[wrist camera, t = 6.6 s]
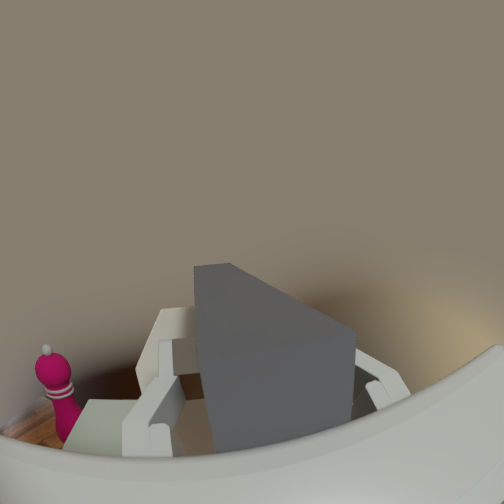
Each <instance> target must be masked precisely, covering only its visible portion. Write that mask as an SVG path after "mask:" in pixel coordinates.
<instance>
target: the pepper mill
mask: <svg viewBox="0 0 504 504" xmlns="http://www.w3.org/2000/svg"><path fill="white" fill-rule="evenodd" d="M42 352H43V354H44V355H42V356H40V357H39V358H38V360H37V362H36V365H35V371H36V375H37V377H38V379H39V381H40V382H41V383H43V384H44V389H45V391H46V394H47V396H48V397H50V398H51V400H52V402H53V405H54V409H55V414H56V431H57V434H58V436H59V438H60V440H61V441H62V442H63V443H64V444H65V442H66V440H67V438H68V436H69V434H70V432H71V431H72V429H73V427H74V425H75V423H76V422H77V420H78V418H79V416H80V414H81V413H82V411H83V410H81V408H80V407H79V406H78V404H77V403H76V401H75V398H74V396H73V392H74V387H73V386H72V382H71V380H69V379H70V376H71V368H70V365H69V363H68V361H67V360H66V359H65V358H64V357H63V356H62V355H60V354H57V353H52V348H51V346H50V345H48V344H46V345H43V347H42Z"/></svg>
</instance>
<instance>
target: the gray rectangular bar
mask: <svg viewBox="0 0 504 504" xmlns="http://www.w3.org/2000/svg"><path fill="white" fill-rule="evenodd" d="M194 295H195V320H196V338H197V354H198V364H199V370H200V375H201V381H202V387H203V392H204V398H205V403H206V408H207V413H208V418H209V423H210V428H211V432H212V437H213V442H214V446H215V450H216V453H222V452H230V451H236V450H243V449H248V448H254V447H259V446H264V445H269V444H274V443H278V442H283V441H287V440H291V439H295V438H299V437H302V436H306V435H309V434H313V433H316V432H320V431H323V430H326V429H329V428H332V427H335V426H338V425H341V424H344V423H347V422H350V419H351V410H352V400H353V389H354V375H355V357H356V331H354V330H353V329H351V328H349V327H347V326H345V325H343V324H341V323H339V322H337V321H335V320H334V319H332V318H330V317H328V316H326V315H324V314H322V313H320V312H318V311H317V310H315V309H313V308H311V307H309V306H307V305H305V304H304V303H301V302H300V301H298V300H296V299H294V298H292V297H291V296H289V295H287V294H285V293H283V292H281V291H279V290H277V289H276V288H274V287H272V286H270V285H268V284H267V283H265V282H263V281H261V280H259V279H258V278H256V277H254V276H252V275H250V274H248V273H247V272H245V271H243V270H241V269H239V268H238V267H236V266H234V265H232V264H230V263H224V264H214V265H204V266H194Z"/></svg>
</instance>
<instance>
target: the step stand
mask: <svg viewBox="0 0 504 504" xmlns="http://www.w3.org/2000/svg"><path fill="white" fill-rule="evenodd" d="M194 337H196V320H195V306H190V307H180V308H170V309H169V308H168V309H161V311H160V313H159V315H158V317H157V320H156V322H155V324H154V326H153V329H152V331H151V333H150V336H149V338H148V340H147V342H146V345H145V347H144V349H143V352H142V354H141V357H140V359H139V361H138V364H137V367H136V373H137V377H138V380H139V385H140V388H141V392H142V394H143V392H144V391H145V389H146V388H147V387H148V385H149V384H150V382H151V381H152V380H153V378H154V377H158V342H159V340H165V339H179V338H194ZM137 401H138V400H95V399H89V401H88V402H87V404H86V406H85V408H84V409H83V411H82V413H81V414H80V416H79V418H78V420H77V422H76V423H75V425H74V427H73V429H72V431H71V432H70V434H69V436H68V438H67V440H66V442H65V444H64V445H63V447H62V449H61V450H66V451H73V452H79V453H87V454H96V455H107V456H122V422H123V421H124V419H125V418H126V416H127V415H128V414H129V412H130V411H131V409H132V408H133V406H134V405H135V404H136V402H137ZM172 432H173V434H174V435H175V437H176V439H177V440H178V442H179V444H180V445H181V447H182V449H183V456H193V455H205V454H214V453H216V450H215V446H214V442H213V437H212V432H211V428H210V423H209V418H208V413H207V408H206V403H205V398H203V399H195V400H186V404H185V406H184V408H183V410H182V412H181V414H180V416H179V418H178V420H177V422H176V424H175V426H174V428H173V430H172Z"/></svg>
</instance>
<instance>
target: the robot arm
mask: <svg viewBox="0 0 504 504" xmlns="http://www.w3.org/2000/svg"><path fill="white" fill-rule="evenodd" d="M203 398H204V392H203V387H202V381H201V375H200V370H199V364H198V354H197V338H196V337H194V338H179V339H165V340H159V342H158V377H154V378H153V380H152V381H151V382H150V384H149V385H148V387H147V388H146V389H145V391H144V392H143V394H142V395H141V397H140V398H139V400H138V401H137V402H136V404H135V405H134V406H133V408H132V409H131V411H130V412H129V414H128V415H127V416H126V418H125V419H124V421H123V422H122V456H107V455H96V454H87V453H79V452H73V451H66V450H60V449H55V448H50V447H45V446H41V445H36V444H32V443H28V442H24V441H20V440H17V439H13V438H10V437H6V436H3V435H0V504H504V347H503V346H501V345H498V344H495V345H493V346H491V347H489V348H488V349H487V350H485V351H484V352H482V353H481V354H480V355H479V356H477V357H475V358H474V359H473V360H471V361H469V362H468V363H466V364H465V365H463V366H462V367H460V368H459V369H457V370H455V371H454V372H452V373H451V374H449V375H447V376H445V377H444V378H442V379H440V380H438V381H437V382H435V383H433V384H431V385H430V386H428V387H426V388H424V389H422V390H420V391H418V392H416V393H414V394H413V395H411V394H410V392H409V390H408V389H407V387H406V385H405V384H404V382H403V381H402V379H401V377H400V376H399V374H398V373H397V371H395V370H394V369H392V368H390V367H388V366H386V365H385V364H383V363H381V362H379V361H377V360H376V359H374V358H372V357H370V356H369V355H367V354H365V353H363V352H361V351H360V350H358V349H356V357H355V375H354V389H353V400H352V403H353V404H352V410H351V419H350V422H347V423H344V424H341V425H338V426H335V427H332V428H329V429H326V430H323V431H320V432H316V433H313V434H309V435H306V436H302V437H299V438H295V439H291V440H287V441H283V442H278V443H274V444H269V445H264V446H259V447H254V448H248V449H243V450H236V451H230V452H222V453H214V454H205V455H193V456H183V449H182V447H181V445H180V444H179V442H178V440H177V439H176V437H175V435H174V434H173V432H172V430H173V428H174V426H175V424H176V422H177V420H178V418H179V416H180V414H181V412H182V410H183V408H184V406H185V404H186V400H195V399H203Z"/></svg>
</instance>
